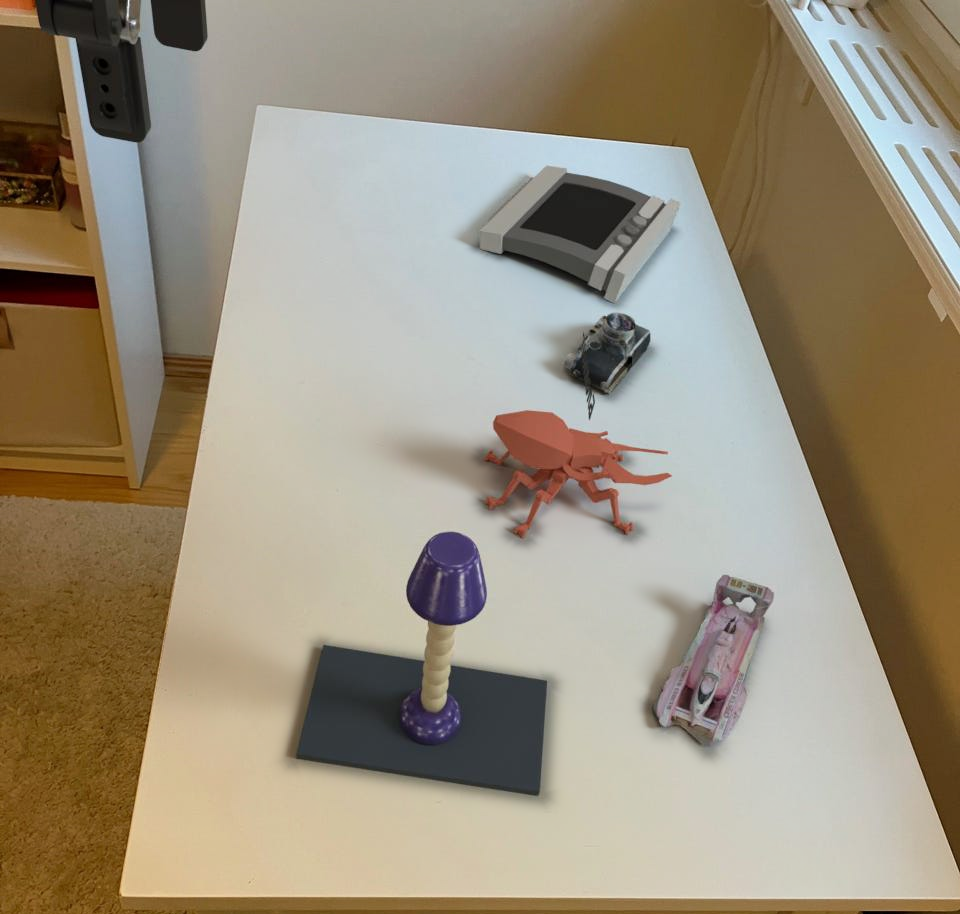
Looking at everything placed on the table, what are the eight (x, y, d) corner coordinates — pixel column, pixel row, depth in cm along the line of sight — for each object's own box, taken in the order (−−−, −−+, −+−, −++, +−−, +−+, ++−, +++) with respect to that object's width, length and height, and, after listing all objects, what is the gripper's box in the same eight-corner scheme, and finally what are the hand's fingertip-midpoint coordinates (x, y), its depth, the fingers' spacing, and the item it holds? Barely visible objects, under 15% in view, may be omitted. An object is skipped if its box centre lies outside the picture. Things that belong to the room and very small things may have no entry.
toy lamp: (382, 734, 66) (401, 568, 53) (401, 679, 69) (423, 509, 56) (452, 752, 66) (488, 591, 53) (468, 697, 69) (506, 531, 55)
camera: (557, 376, 92) (566, 338, 89) (605, 326, 98) (615, 288, 95) (604, 399, 91) (616, 362, 88) (651, 347, 97) (663, 310, 94)
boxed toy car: (722, 757, 69) (743, 726, 66) (649, 723, 70) (666, 691, 67) (767, 628, 77) (788, 595, 74) (701, 599, 78) (718, 565, 75)
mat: (296, 758, 65) (296, 753, 64) (323, 649, 70) (323, 644, 70) (538, 796, 65) (539, 791, 65) (545, 685, 71) (547, 680, 70)
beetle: (483, 535, 79) (509, 411, 69) (481, 431, 86) (504, 305, 76) (666, 551, 81) (716, 431, 71) (648, 447, 88) (692, 327, 78)
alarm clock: (625, 274, 98) (481, 204, 100) (610, 313, 102) (472, 245, 104) (681, 203, 108) (549, 140, 110) (666, 240, 112) (539, 179, 114)
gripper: (47, -523, 34) (118, 6, 46) (-160, -487, 25) (-2, 153, 38) (268, -475, 34) (278, 36, 47) (141, -423, 25) (196, 189, 38)
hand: (153, 88), depth 42 cm, fingers open, 8 cm apart
